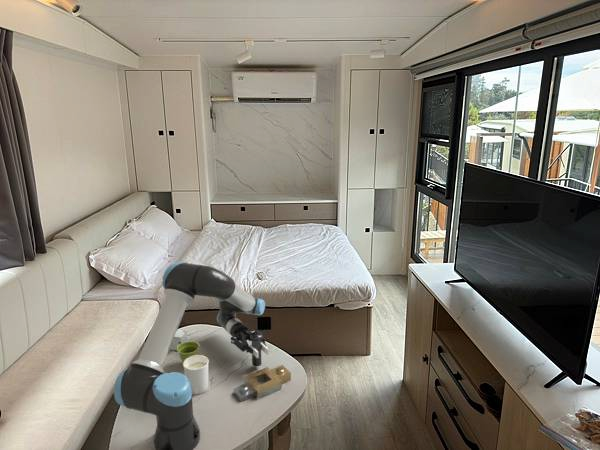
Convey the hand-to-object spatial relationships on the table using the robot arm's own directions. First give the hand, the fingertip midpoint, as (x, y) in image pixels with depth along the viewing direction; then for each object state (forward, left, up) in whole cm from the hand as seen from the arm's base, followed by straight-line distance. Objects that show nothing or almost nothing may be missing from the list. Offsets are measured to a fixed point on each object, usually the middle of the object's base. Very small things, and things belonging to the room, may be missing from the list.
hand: (262, 353), depth 174 cm
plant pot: (-23, +24, -10) cm, 35 cm away
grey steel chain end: (-7, -7, -10) cm, 14 cm away
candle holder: (-26, +7, -10) cm, 29 cm away
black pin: (0, +5, -8) cm, 10 cm away
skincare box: (-22, +40, -10) cm, 47 cm away
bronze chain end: (-1, -7, -10) cm, 12 cm away
